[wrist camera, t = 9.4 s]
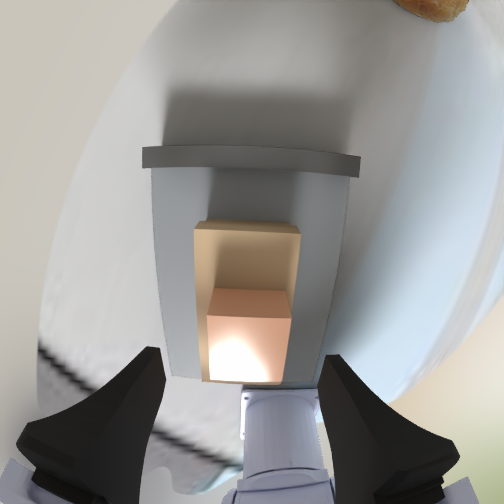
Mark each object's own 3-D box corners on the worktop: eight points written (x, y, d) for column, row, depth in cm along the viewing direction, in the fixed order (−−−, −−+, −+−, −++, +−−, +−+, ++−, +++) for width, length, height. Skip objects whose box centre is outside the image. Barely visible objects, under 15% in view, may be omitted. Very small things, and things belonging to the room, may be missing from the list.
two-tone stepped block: (275, 346, 20) (280, 384, 16) (209, 343, 20) (201, 381, 16) (290, 214, 17) (301, 234, 13) (206, 210, 17) (193, 228, 13)
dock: (309, 366, 24) (315, 394, 20) (176, 360, 23) (167, 388, 20) (341, 154, 17) (360, 156, 14) (161, 146, 17) (142, 147, 14)
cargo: (278, 351, 15) (281, 381, 13) (215, 348, 15) (210, 379, 13) (285, 290, 14) (291, 318, 12) (213, 287, 14) (206, 315, 12)
